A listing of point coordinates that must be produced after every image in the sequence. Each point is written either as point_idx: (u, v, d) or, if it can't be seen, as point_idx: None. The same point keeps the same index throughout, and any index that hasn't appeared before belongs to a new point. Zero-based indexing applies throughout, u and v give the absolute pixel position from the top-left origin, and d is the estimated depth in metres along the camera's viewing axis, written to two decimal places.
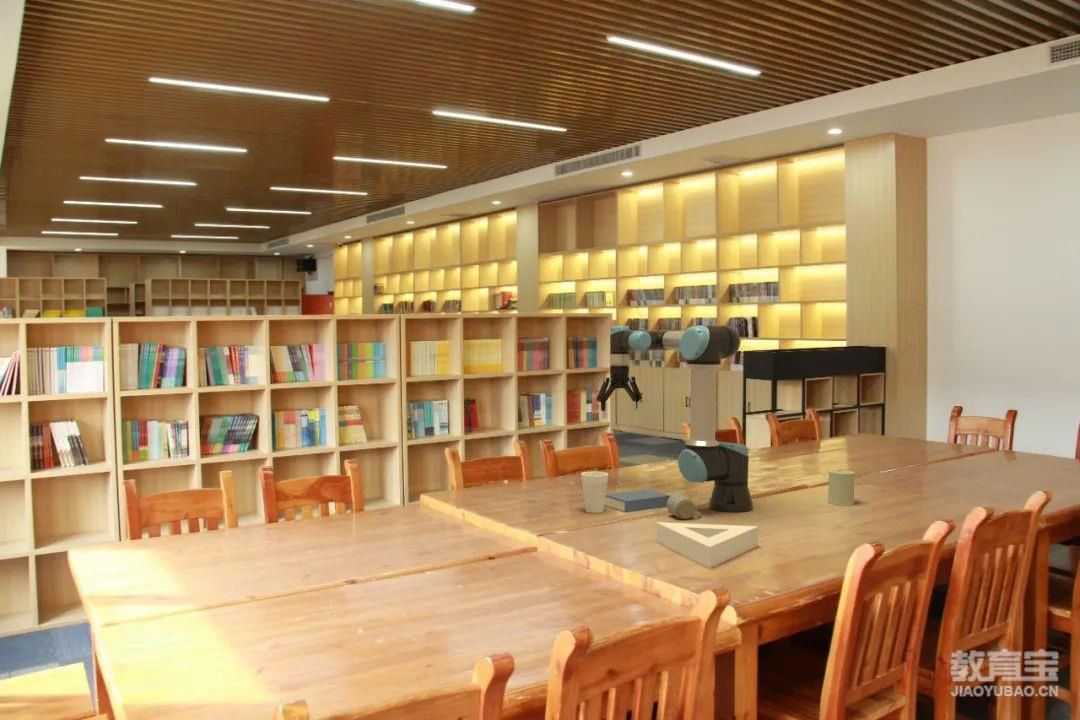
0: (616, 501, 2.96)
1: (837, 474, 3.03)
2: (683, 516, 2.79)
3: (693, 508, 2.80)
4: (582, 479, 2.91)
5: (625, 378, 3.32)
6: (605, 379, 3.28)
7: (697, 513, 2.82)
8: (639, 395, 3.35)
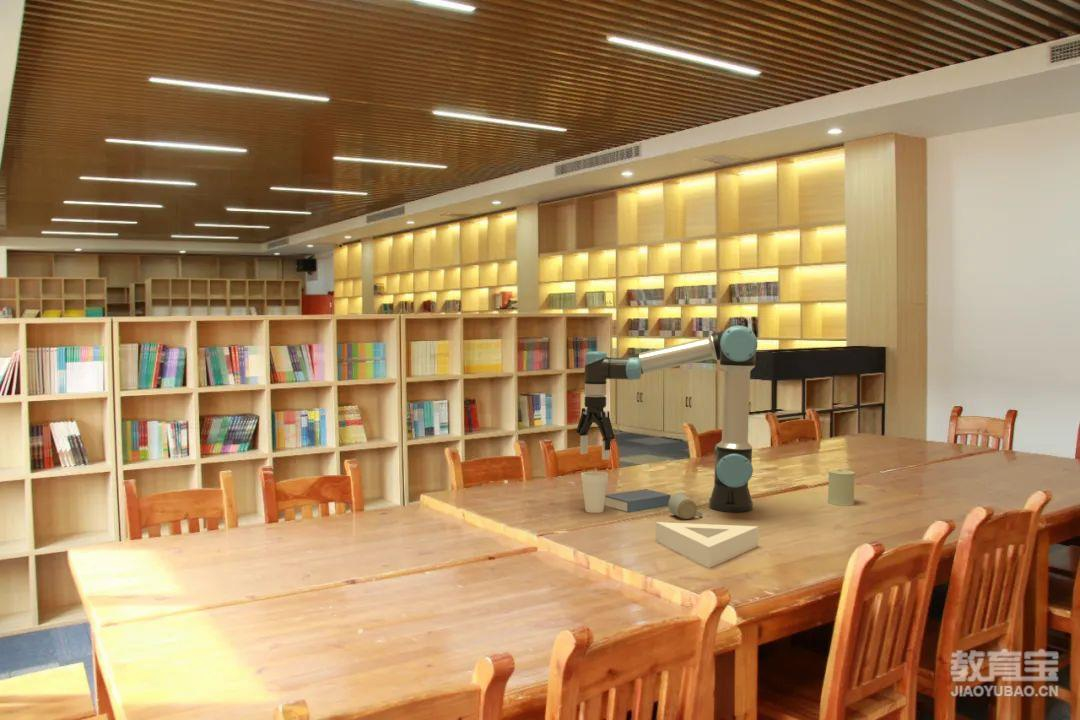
0: (617, 501, 2.95)
1: (837, 474, 3.03)
2: (684, 516, 2.79)
3: (694, 508, 2.80)
4: (582, 479, 2.91)
5: (595, 412, 2.90)
6: None
7: (698, 513, 2.82)
8: (607, 434, 2.84)
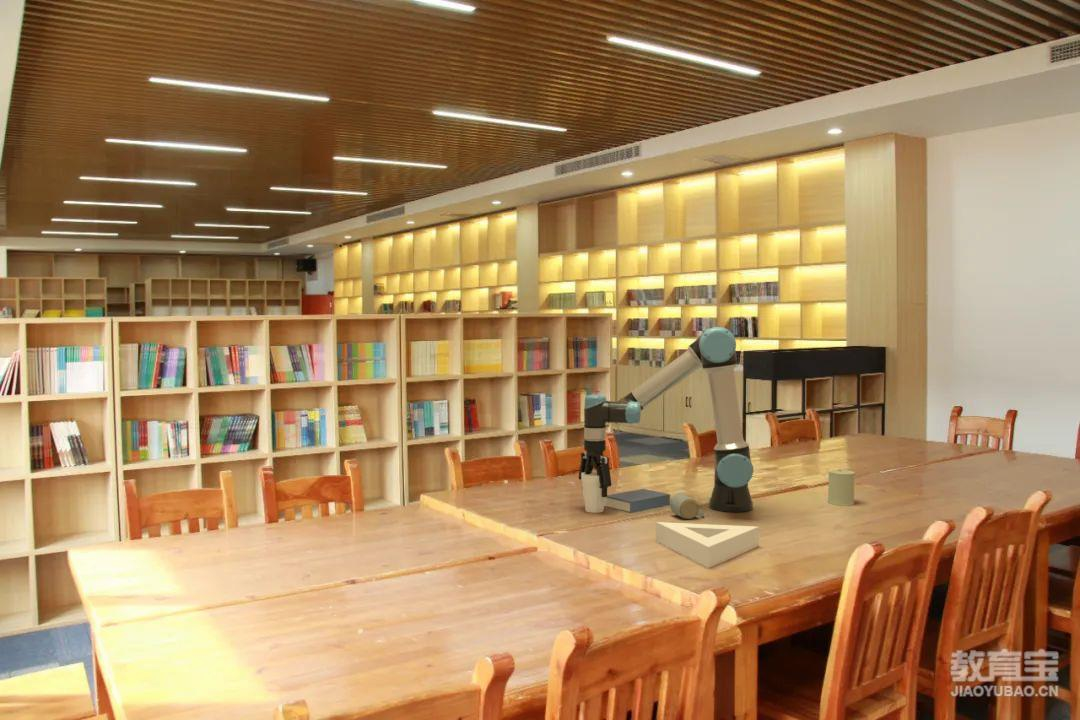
0: (619, 502, 2.95)
1: (837, 474, 3.03)
2: (686, 516, 2.79)
3: (696, 508, 2.80)
4: (582, 479, 2.91)
5: (595, 456, 2.90)
6: None
7: (700, 513, 2.82)
8: (604, 481, 2.85)
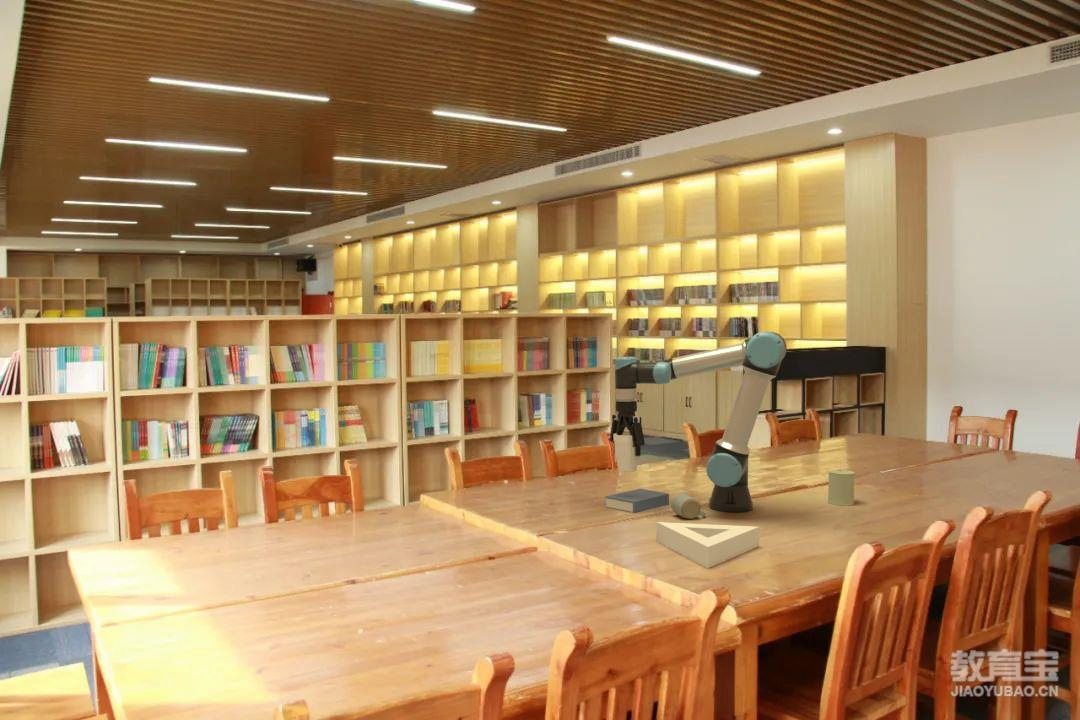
0: (621, 502, 2.94)
1: (837, 474, 3.03)
2: (688, 516, 2.79)
3: (698, 508, 2.80)
4: (615, 439, 2.96)
5: (627, 416, 2.95)
6: None
7: (702, 513, 2.82)
8: (637, 440, 2.90)
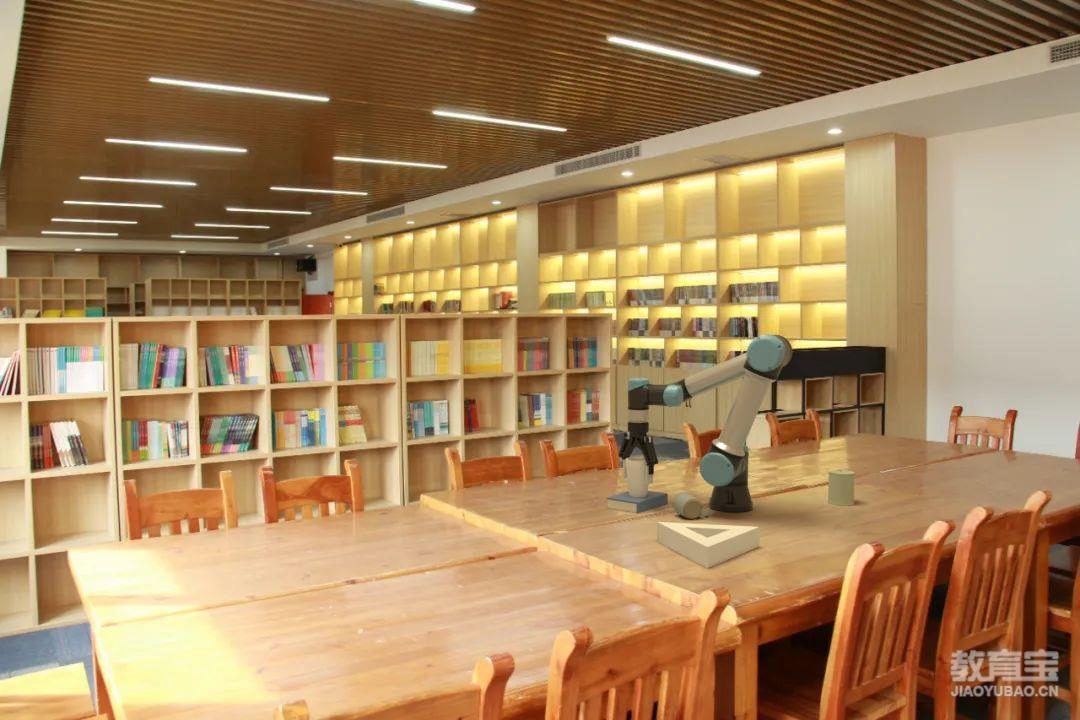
0: (623, 503, 2.93)
1: (837, 474, 3.03)
2: (690, 516, 2.80)
3: (700, 508, 2.80)
4: (627, 464, 2.99)
5: (639, 437, 2.98)
6: None
7: (704, 513, 2.82)
8: (650, 459, 2.92)
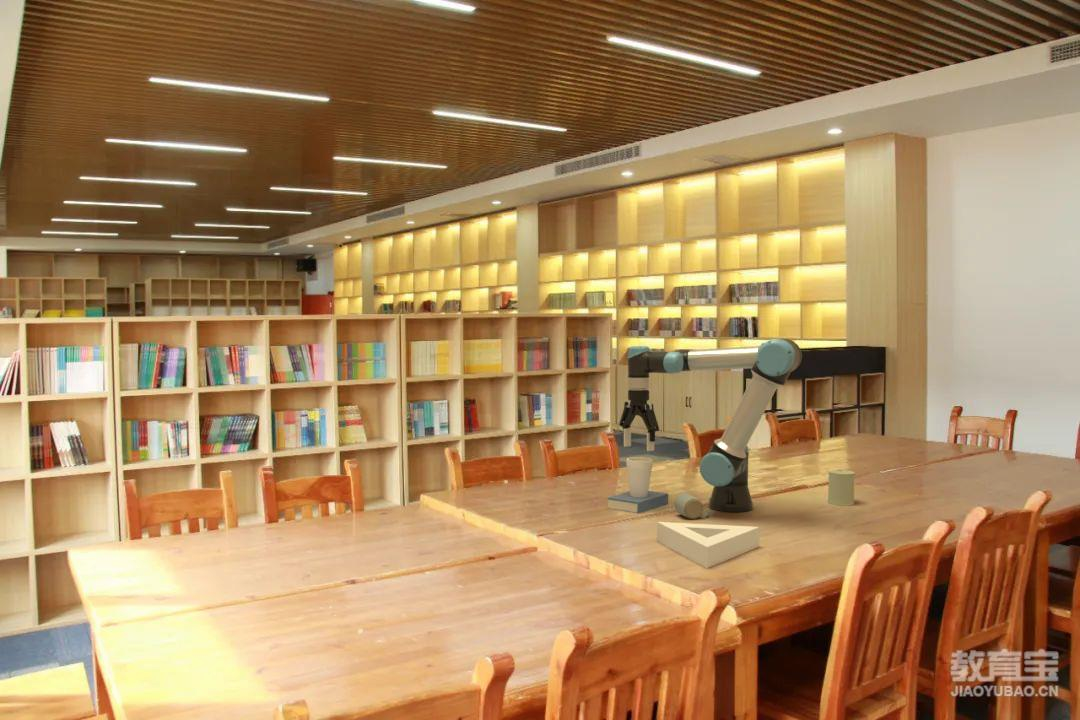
0: (624, 503, 2.93)
1: (837, 474, 3.03)
2: (691, 516, 2.80)
3: (701, 508, 2.80)
4: (627, 464, 2.99)
5: (639, 405, 2.97)
6: None
7: (705, 513, 2.82)
8: (651, 426, 2.92)
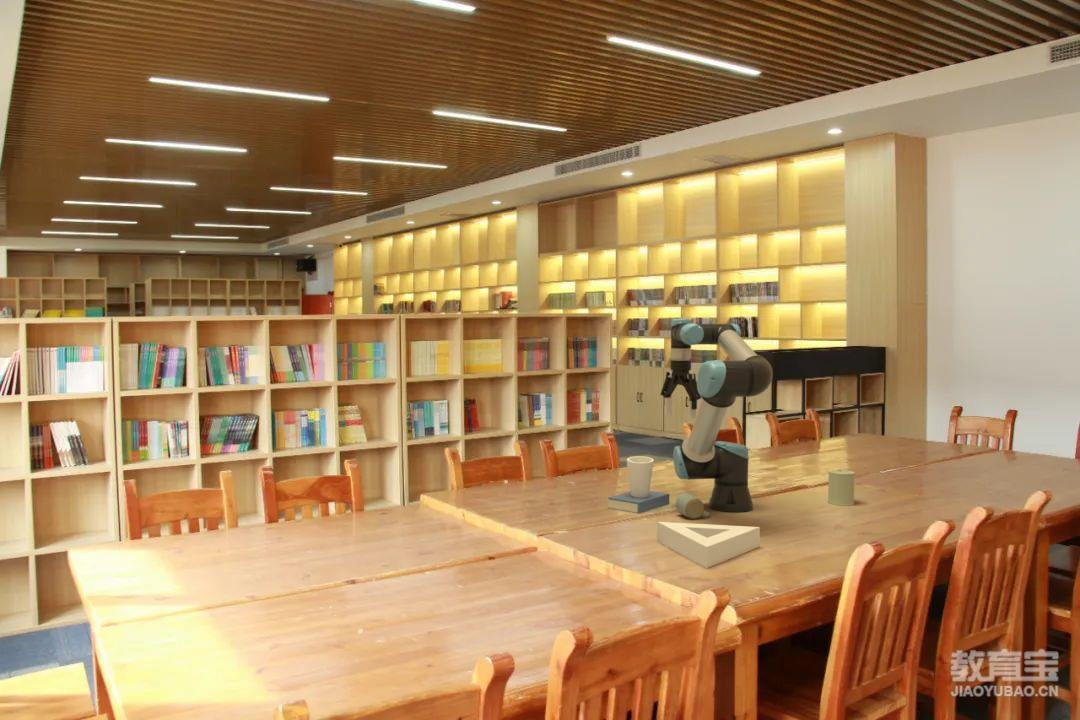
0: (625, 503, 2.93)
1: (837, 474, 3.03)
2: (692, 516, 2.80)
3: (702, 508, 2.81)
4: (627, 465, 2.98)
5: (682, 374, 3.10)
6: None
7: (706, 513, 2.82)
8: (694, 394, 3.05)
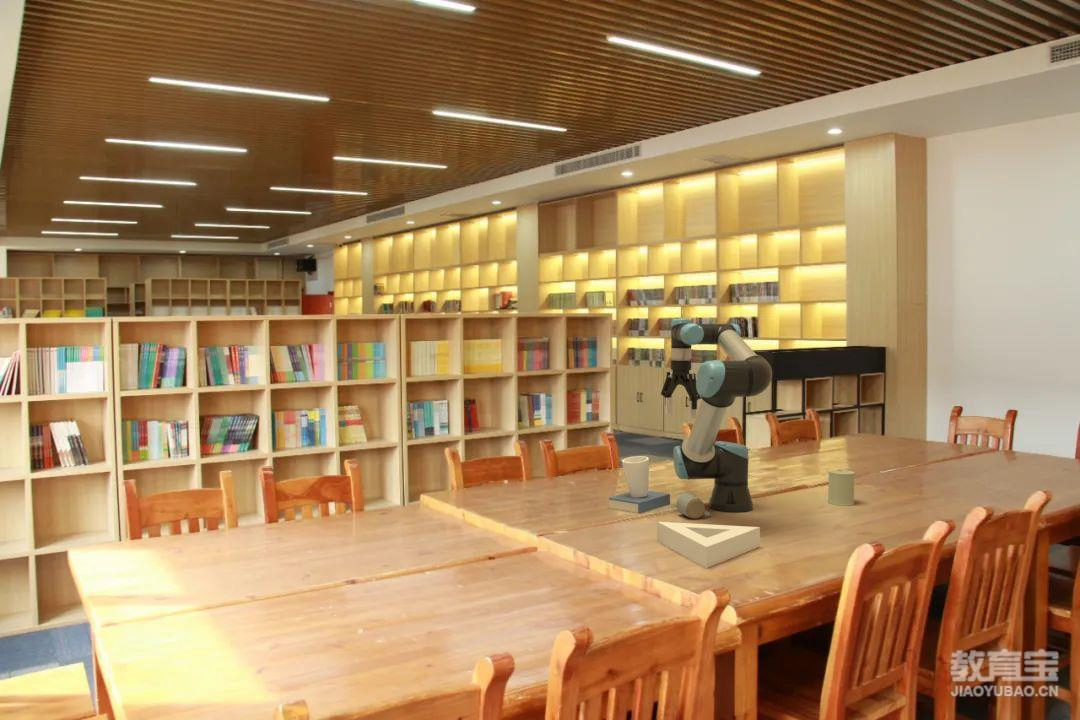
0: (625, 503, 2.93)
1: (837, 474, 3.03)
2: (693, 515, 2.80)
3: (703, 508, 2.81)
4: (623, 465, 2.98)
5: (682, 374, 3.11)
6: None
7: (707, 513, 2.82)
8: (694, 394, 3.05)
